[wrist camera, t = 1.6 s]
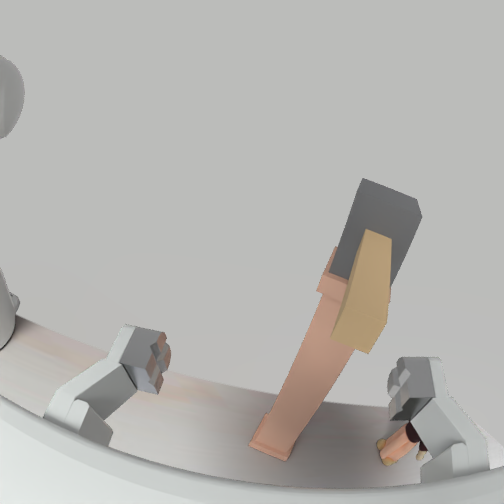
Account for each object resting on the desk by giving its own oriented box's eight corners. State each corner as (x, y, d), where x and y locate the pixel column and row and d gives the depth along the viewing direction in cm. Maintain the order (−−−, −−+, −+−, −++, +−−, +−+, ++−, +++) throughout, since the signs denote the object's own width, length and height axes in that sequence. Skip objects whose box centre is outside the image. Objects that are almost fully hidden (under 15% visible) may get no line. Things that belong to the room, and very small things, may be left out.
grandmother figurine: (366, 438, 37) (414, 384, 31) (386, 431, 38) (435, 377, 32) (388, 481, 31) (447, 435, 24) (408, 471, 32) (466, 424, 26)
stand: (248, 445, 34) (322, 274, 21) (263, 417, 38) (335, 246, 25) (285, 461, 33) (389, 301, 20) (298, 431, 37) (391, 268, 24)
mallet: (287, 359, 14) (332, 247, 11) (338, 247, 25) (362, 177, 22) (373, 393, 13) (440, 291, 10) (388, 267, 24) (416, 199, 21)
